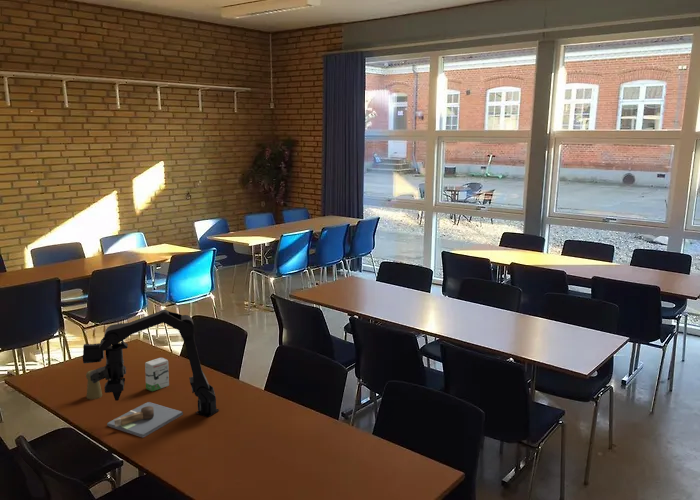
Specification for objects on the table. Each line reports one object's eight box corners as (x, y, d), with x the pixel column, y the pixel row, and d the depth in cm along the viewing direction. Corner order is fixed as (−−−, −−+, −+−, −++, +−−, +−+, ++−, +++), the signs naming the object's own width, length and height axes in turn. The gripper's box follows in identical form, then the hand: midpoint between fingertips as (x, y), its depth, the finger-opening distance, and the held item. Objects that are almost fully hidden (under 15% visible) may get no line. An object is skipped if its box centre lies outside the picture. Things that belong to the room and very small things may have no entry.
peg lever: (151, 412, 218) (150, 405, 217) (155, 416, 215) (155, 409, 214) (113, 423, 209) (112, 416, 208) (117, 428, 205) (116, 420, 205)
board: (182, 414, 221) (182, 411, 220) (143, 437, 203) (142, 434, 203) (148, 404, 228) (148, 401, 228) (107, 426, 211) (107, 422, 210)
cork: (105, 393, 238) (103, 368, 236) (97, 399, 232) (95, 374, 230) (91, 392, 238) (89, 367, 236) (83, 398, 232) (81, 373, 230)
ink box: (152, 392, 240) (150, 365, 238) (145, 388, 243) (144, 362, 241) (169, 385, 247) (168, 359, 244) (163, 382, 250) (161, 356, 247)
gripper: (93, 353, 214) (95, 392, 217) (87, 372, 196) (90, 414, 199) (125, 350, 217) (127, 388, 220) (122, 368, 200) (124, 410, 203)
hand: (116, 400), depth 211 cm, fingers closed
